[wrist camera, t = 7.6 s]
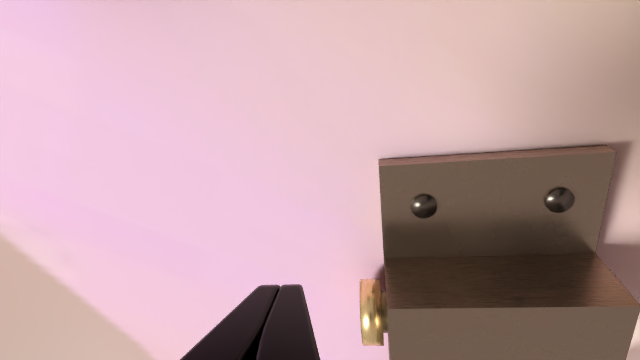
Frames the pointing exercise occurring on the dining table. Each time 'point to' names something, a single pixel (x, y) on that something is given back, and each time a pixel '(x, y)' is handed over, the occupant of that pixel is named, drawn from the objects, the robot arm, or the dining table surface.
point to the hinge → (501, 257)
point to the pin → (373, 312)
